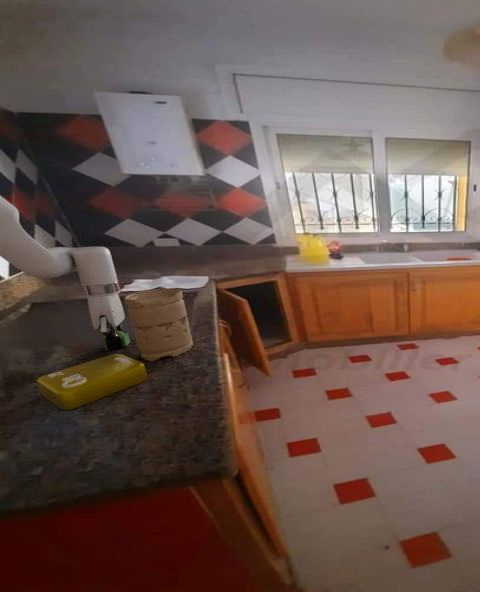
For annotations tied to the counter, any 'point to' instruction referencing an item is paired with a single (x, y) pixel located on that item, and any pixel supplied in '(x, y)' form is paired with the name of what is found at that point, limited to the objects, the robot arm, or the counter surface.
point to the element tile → (91, 381)
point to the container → (159, 323)
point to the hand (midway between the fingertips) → (118, 345)
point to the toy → (124, 339)
